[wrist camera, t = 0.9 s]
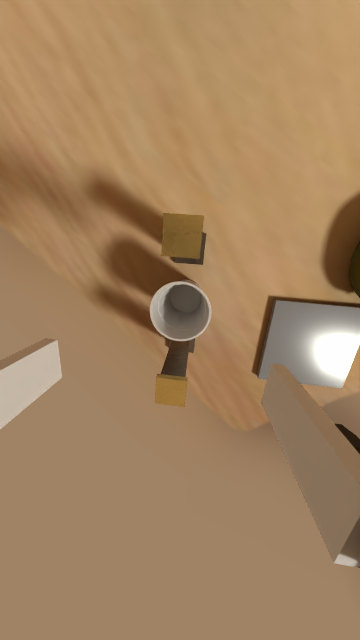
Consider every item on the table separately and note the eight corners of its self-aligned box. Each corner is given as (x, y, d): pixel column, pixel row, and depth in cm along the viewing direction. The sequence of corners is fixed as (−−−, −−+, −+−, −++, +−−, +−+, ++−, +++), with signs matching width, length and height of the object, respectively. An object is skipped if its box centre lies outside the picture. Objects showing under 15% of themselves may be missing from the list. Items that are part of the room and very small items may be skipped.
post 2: (170, 325, 38) (150, 371, 22) (195, 327, 37) (193, 376, 21) (169, 347, 39) (149, 407, 23) (193, 350, 39) (189, 412, 23)
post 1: (176, 232, 33) (155, 203, 17) (205, 234, 32) (213, 207, 16) (174, 262, 34) (153, 262, 18) (202, 264, 34) (206, 267, 18)
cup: (158, 305, 37) (140, 325, 25) (175, 267, 34) (163, 270, 23) (195, 323, 37) (194, 350, 26) (214, 286, 35) (222, 298, 23)
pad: (273, 299, 34) (276, 300, 33) (367, 307, 33) (373, 309, 32) (256, 375, 39) (258, 378, 38) (337, 384, 38) (341, 388, 37)
